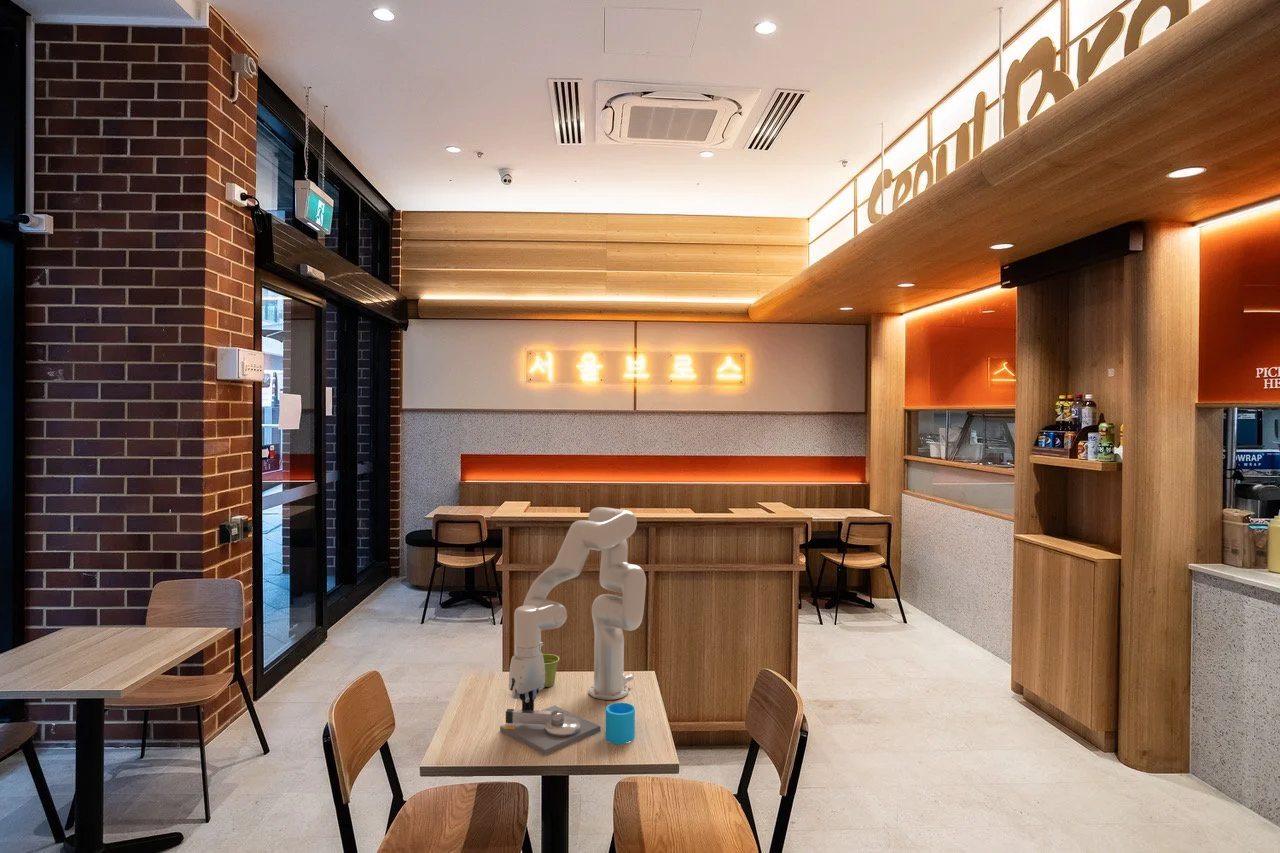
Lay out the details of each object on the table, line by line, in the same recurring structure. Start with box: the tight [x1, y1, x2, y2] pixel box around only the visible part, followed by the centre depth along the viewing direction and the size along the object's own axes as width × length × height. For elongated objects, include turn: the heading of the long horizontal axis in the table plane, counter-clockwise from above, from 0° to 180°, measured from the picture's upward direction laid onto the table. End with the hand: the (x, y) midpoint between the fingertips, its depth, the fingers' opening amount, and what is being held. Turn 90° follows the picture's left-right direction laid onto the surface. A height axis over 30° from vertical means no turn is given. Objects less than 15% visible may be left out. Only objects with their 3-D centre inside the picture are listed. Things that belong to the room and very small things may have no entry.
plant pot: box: [542, 653, 560, 688], centre depth 234 cm, size 9×9×9 cm
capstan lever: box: [505, 708, 581, 737], centre depth 198 cm, size 10×21×5 cm, turn 85°
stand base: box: [499, 705, 601, 756], centre depth 199 cm, size 20×20×2 cm
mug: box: [604, 702, 636, 745], centre depth 198 cm, size 12×8×8 cm
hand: (528, 713), depth 201 cm, fingers closed
